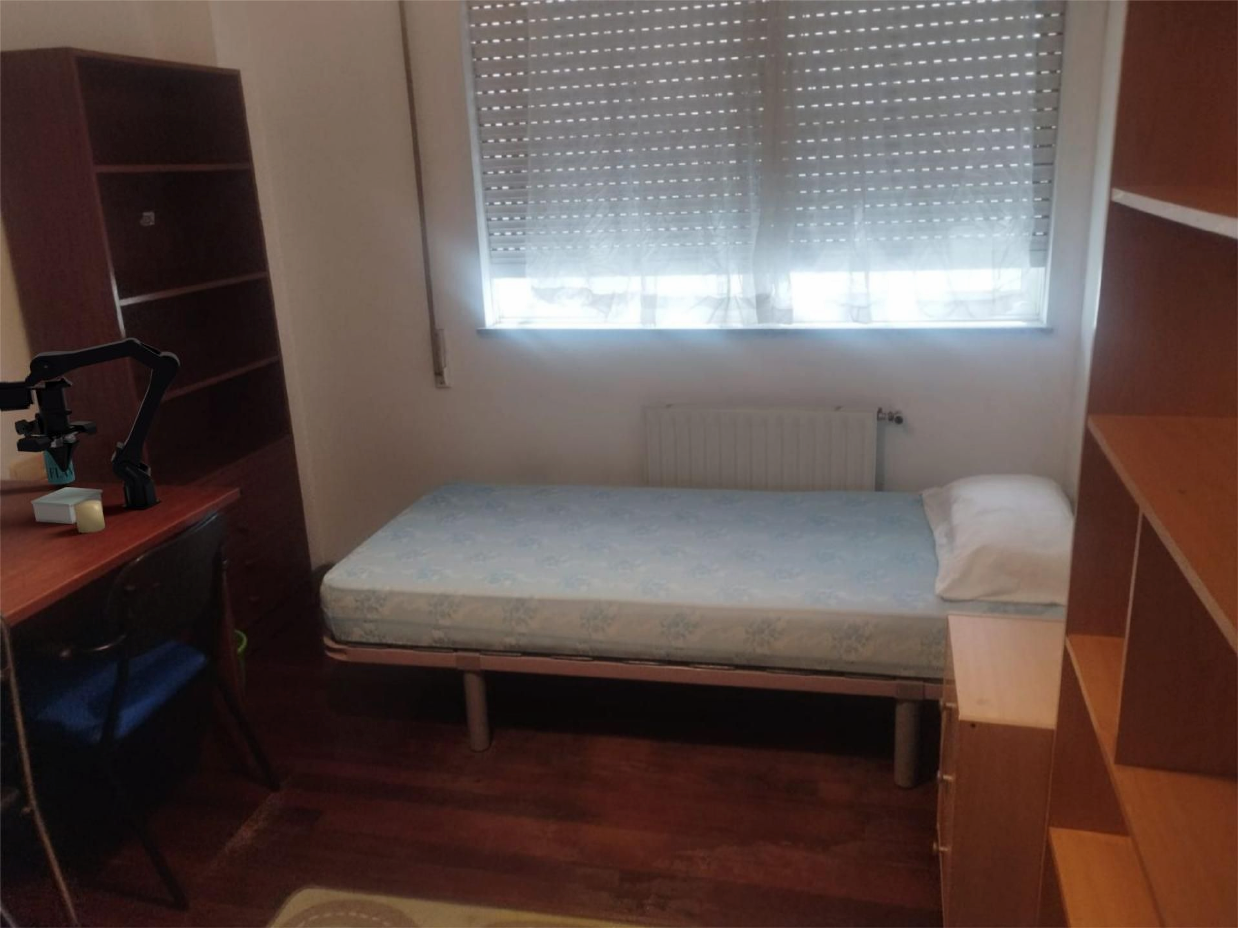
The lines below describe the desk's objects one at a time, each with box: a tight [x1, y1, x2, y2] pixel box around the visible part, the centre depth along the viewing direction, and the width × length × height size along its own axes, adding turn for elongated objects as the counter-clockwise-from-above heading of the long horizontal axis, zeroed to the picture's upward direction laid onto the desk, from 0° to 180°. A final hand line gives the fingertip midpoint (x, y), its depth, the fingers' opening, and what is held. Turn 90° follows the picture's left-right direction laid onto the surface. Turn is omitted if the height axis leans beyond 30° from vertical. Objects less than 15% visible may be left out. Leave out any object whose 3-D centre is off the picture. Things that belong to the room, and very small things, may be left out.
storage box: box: [32, 493, 104, 525], centre depth 229 cm, size 10×10×4 cm
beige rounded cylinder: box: [74, 500, 106, 534], centre depth 220 cm, size 6×6×6 cm
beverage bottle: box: [39, 435, 76, 485], centre depth 250 cm, size 6×7×20 cm
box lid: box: [30, 486, 104, 506], centre depth 229 cm, size 10×11×1 cm
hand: (64, 471), depth 228 cm, fingers closed
